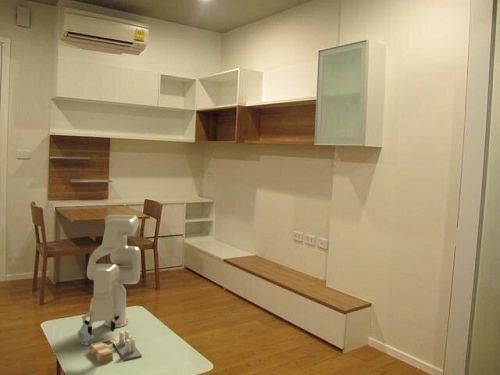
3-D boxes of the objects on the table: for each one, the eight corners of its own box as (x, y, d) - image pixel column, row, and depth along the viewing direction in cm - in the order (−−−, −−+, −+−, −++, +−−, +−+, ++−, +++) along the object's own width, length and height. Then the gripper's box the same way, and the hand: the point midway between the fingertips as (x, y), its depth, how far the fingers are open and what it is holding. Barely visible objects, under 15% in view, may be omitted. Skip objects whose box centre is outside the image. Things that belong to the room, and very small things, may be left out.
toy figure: (72, 344, 212) (72, 319, 211) (82, 339, 217) (82, 315, 216) (88, 349, 207) (88, 324, 206) (98, 344, 212) (98, 320, 211)
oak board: (90, 352, 204) (90, 344, 204) (100, 349, 207) (101, 341, 207) (101, 364, 193) (101, 355, 193) (112, 361, 197) (112, 352, 196)
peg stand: (113, 343, 214) (113, 329, 213) (129, 340, 218) (129, 326, 218) (124, 360, 197) (124, 345, 196) (141, 357, 201) (142, 342, 200)
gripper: (119, 290, 206) (118, 326, 207) (80, 295, 197) (79, 332, 198) (123, 295, 199) (122, 332, 200) (83, 299, 190) (83, 338, 191)
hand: (101, 332), depth 199 cm, fingers open, 9 cm apart
